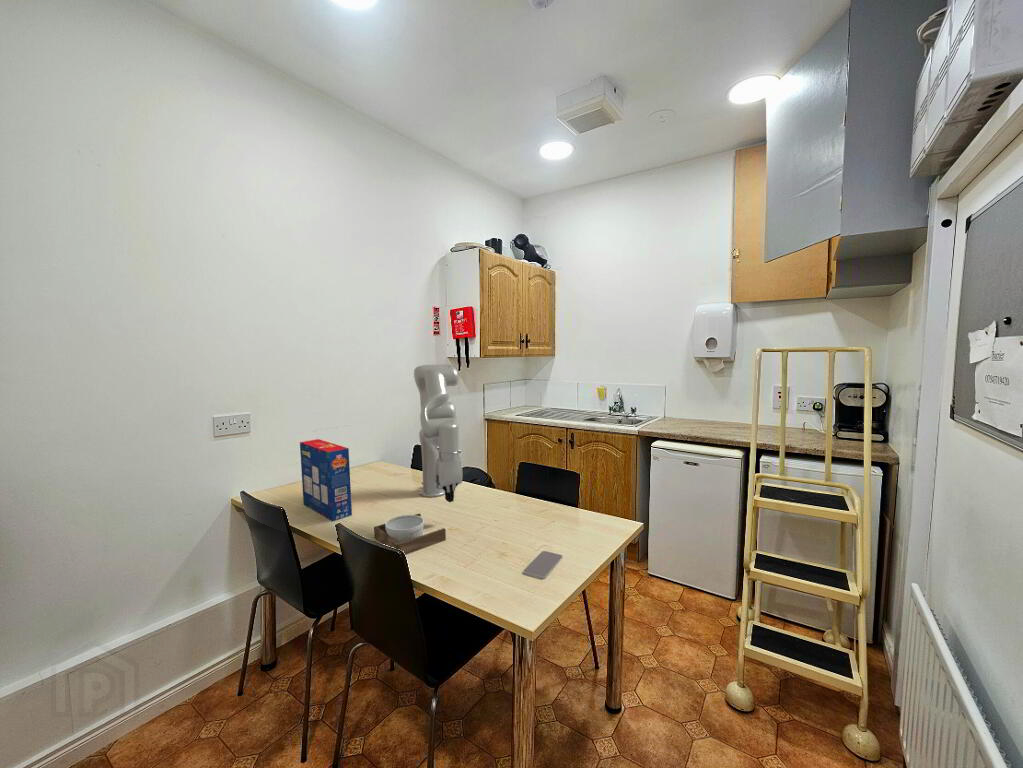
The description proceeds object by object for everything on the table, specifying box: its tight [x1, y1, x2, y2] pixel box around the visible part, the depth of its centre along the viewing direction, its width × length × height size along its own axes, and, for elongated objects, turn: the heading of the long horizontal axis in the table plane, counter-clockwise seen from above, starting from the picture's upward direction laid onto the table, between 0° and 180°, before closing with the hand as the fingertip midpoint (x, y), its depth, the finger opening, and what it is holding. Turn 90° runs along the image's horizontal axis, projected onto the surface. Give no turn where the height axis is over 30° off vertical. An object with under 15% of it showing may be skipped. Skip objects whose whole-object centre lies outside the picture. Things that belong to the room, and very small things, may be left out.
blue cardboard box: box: [299, 438, 353, 522], centre depth 174 cm, size 28×8×28 cm, turn 48°
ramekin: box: [384, 514, 425, 543], centre depth 145 cm, size 13×13×7 cm
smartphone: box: [522, 550, 563, 580], centre depth 128 cm, size 7×1×15 cm
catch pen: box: [373, 512, 447, 555], centre depth 147 cm, size 19×18×4 cm
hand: (449, 500), depth 159 cm, fingers closed
